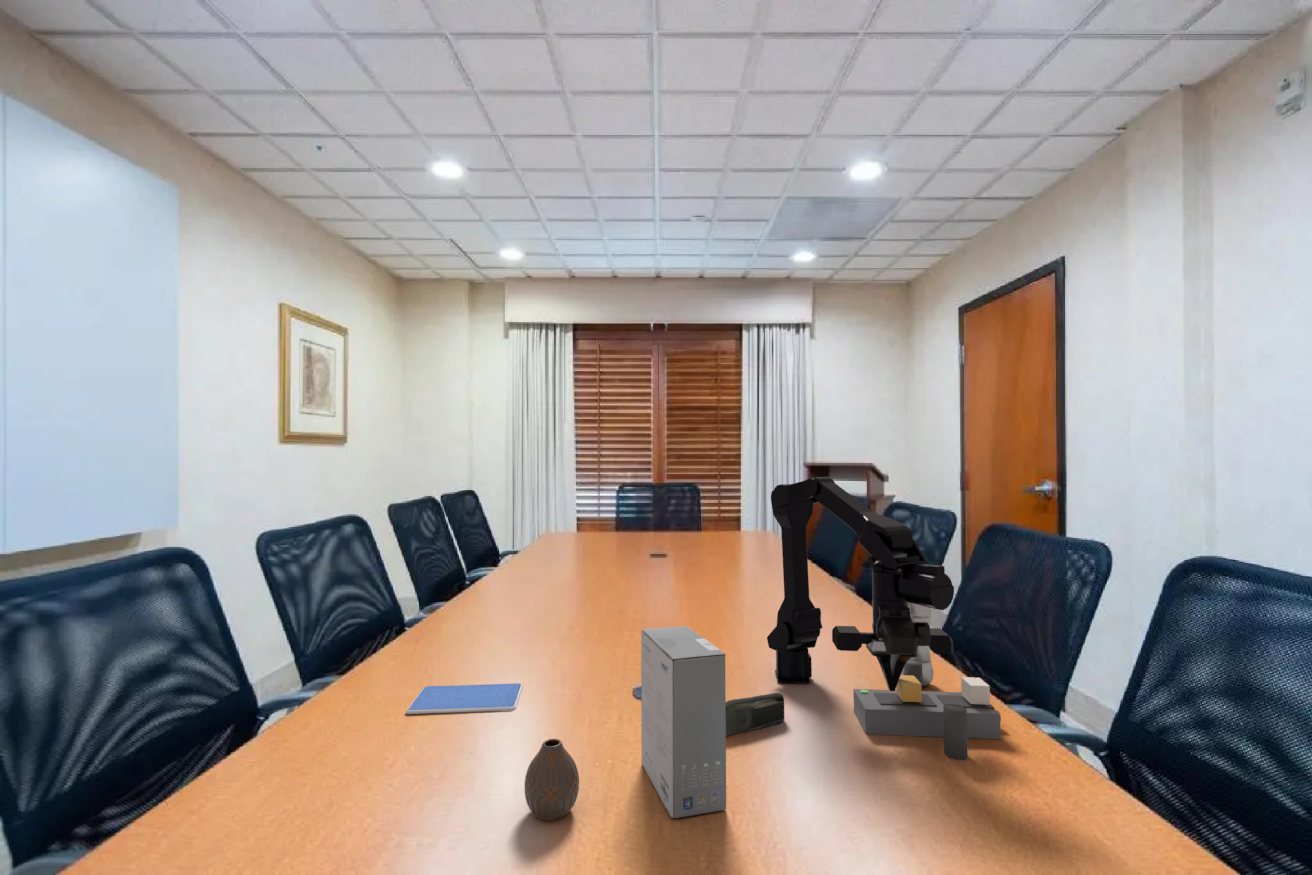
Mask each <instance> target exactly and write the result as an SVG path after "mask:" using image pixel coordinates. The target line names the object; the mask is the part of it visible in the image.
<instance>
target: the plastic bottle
mask: <svg viewBox="0 0 1312 875" xmlns="http://www.w3.org/2000/svg"><path fill="white" fill-rule="evenodd" d="M908 607H909V608H910V617H911V620H912V622H927V623H928V624H929V626H930V627H931V619H932V608H929V607H925V606H921V605H917V604H912V603H909V602H908ZM931 657H932V656H931V649H930V648H929V646H918V651H917V657H912V658H910V659H909V660H914V661H918V662H921V663H922V682H923V687H926V686H929V685H931V683H932V681H933V679H934V668H933V663H932V658H931ZM901 675H904V668H903V670H902V672H901Z"/></svg>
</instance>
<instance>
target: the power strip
mask: <svg viewBox="0 0 1312 875" xmlns="http://www.w3.org/2000/svg"><path fill="white" fill-rule="evenodd" d="M921 695H922V702H903V701H902V700H901V698H900V697H899V696H898V694H897V693H896V689H895V691H890V690H889V689H868V688H853V713H854V715H855V716H856V718H857V720H858V723H859V724H860V727H861V729H862V730H863V732H864V734H866V735H884V736H887V735H888V736H907V737H909V736H910V737H912V736H913V737H935V738H944V712H943V706H944V705H946V704H956V705H960V706H963V707H965V708H966V709H967V739H977V740H978V739H980V740H981V739H982V740H1001V721H1002V718H1001V713H1000V712H999V710H996V709H995V707H994V706H993V705H992V704H991V703H990V705H985V704H970V703H969V702H968V701H967V700H966V699H965V698H964V697H963V696H962V691H961V692H960V691H959V692H958V691H955V692H954V691H934V690H933V691H931V690H930V691H928V690H923V691H921Z"/></svg>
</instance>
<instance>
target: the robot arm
mask: <svg viewBox="0 0 1312 875" xmlns="http://www.w3.org/2000/svg"><path fill="white" fill-rule="evenodd" d="M770 502H771V503H770V504H771V509H772V515H773V517H774V518H775V520H776V521H777V524H778V525H779V526H780V529H781V550H782V567H783V568H782V570H783V572H782V574H783V592H784V595H783V596H784V598H783V600H782V601H781V604H780V607H779V609H778V611H777V616H776V626H775V627H774V628H773V629H772V630H771V632H770V633H769V634H768V636H767V637H766V640H767V644H768V648H769V649H771V650H774V651H775V669H774V673H775V677H776V680H777V681H776V682H777V683H780V684H781V683H784V684H811V678H812V672H813V670H812V656H811V654H810V653H809V649H811V648H815V647H816V644H817V641H818V638H819V637H820V635H821V629H823V624H822V611H821V608H820V607H815V605H814V603H813V602H812V600H811V598H810V585H809V580H810V579H809V563H808V561H809V560H808V546H807V545H808V544H807V526H808V524H809V523H810V520H811V519H812V516H813V513H814V504H818V503H820V504H821V505H822V506H823V507H824V508H826V509H827V510H828V511H829V512H830V513H832V514H833V515H834V516H835V517H837V518H838V519H839V520H840V521H841V522H843V524H845V525H846V526H847V527H849V528H850V529H852V530H853V531H854V533H855V534H856V536H857V540H858V543H859V544H860V545H861V546H862V548H863V549H864V550H865V551H866V552H867V553H868V554H869V557H868V559H866V560H865V561H864V562H862V564H861V567H862V568H864V569H868V570H871V577H872V579H871V586H872V587H871V588H872V589H871V592H872V599H871V606H872V623H871V625H872V626H871V629H872V632H863V631H862V632H860V631H859V630H858V628H857V627H856V625H855V626H854V625H835V626H834V627H833V628H832V631H831V633H832V634H831V636H832V637H831V638H832V639H831V641H832V643H833V644H834V646H835V648H836V650H838V651H840V652H841V651H842V652H843V651H845V652H846V651H847V652H858V651H859V650H860V649H861V648H862V647H863V646H862V645H865V648H866V649H867V650H868V651H869V653H870V654H871V656H873V657H876V660H877V661H878V663H879V666H880V669H881V672H882V673H883V677H884V678H883V679H885V683H886V686H887V688H888V689H887V690H890V691H895V690H896V686H897V683H898V681H899V678H900V675H901V672H902V670H903V668H904V666H905V664H906V662H907V661H908V660H909V659H910V658H912V657H917V651H918V646H929V649H930V651H931V652H933V653H934V654H938V655H939V654H942V655H951V654H954V641H953V638H952V637H951V636H950V635H949V634H948V633H947V632H946V631H944V630H942V629H941V628H938V627H935V628H934V627H932V628H931V625H930V626H929V624H928V623H927V622H912V620H911V617H910V608H909V607H908V602H909V603H912V604H917V605H921V606H925V607H929V608H931V609H934V610H938V611H944V610H946V609H948V608H949V607H950V605H951V603H952V601H953V600H954V596H955V586H954V585H953V582H952V580H951V578H950V576H949V575H948V574H946V573H945V570H946V569H945V568H946V567H945V566H944V565H940V564H928V561H927V559H926V558H925V555H924V554H923V552H922V550H921V549H920V547H919V546H918V544H917V542H916V541H915V539H914V537H913V531H912V530H911V529H910V528H909V526H907V525H906V524H904V523H901V522H900V521H898V520H895V519H894V518H892V517H888V516H885V515H881V514H878V513H876V512H874V511H873V510H871V509H870V508H869V507H867V506H866V504H864V503H862V502H861V501H860V500H858V499H857V498H855V497H854V496H852V494H850V493H848V492H847V491H846V490H845V489H844V488H842V487H841V486H839V485H838V484H837V483H836V482H835V480H834V479H833V478H831V477H829V476H814V477H812V476H811V477H809V478H808V479H805V480H802V481H798V482H795V483H788V484H787V483H784V484H783V483H782V484H781V483H780V484H778V485H776V486H775V487H774V488H773V490H772V491H771V493H770Z"/></svg>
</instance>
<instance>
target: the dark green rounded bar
mask: <svg viewBox="0 0 1312 875" xmlns="http://www.w3.org/2000/svg"><path fill="white" fill-rule="evenodd" d="M784 721H785V697H784V695H783V694H782V693H779V692H773V693H767V694H761V695H756V696H750V697H742V698H741V697H740V698H734V699H729V700H727V701H726V737H728V736H731V735H736V733H737V734H741V733H745V731H746V732H749V731H753V729H754V730H758V728H759V729H763V727H764V728H767V727H771V726H776V725H780V724H781V723H783V722H784ZM775 724H776V725H775Z"/></svg>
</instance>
